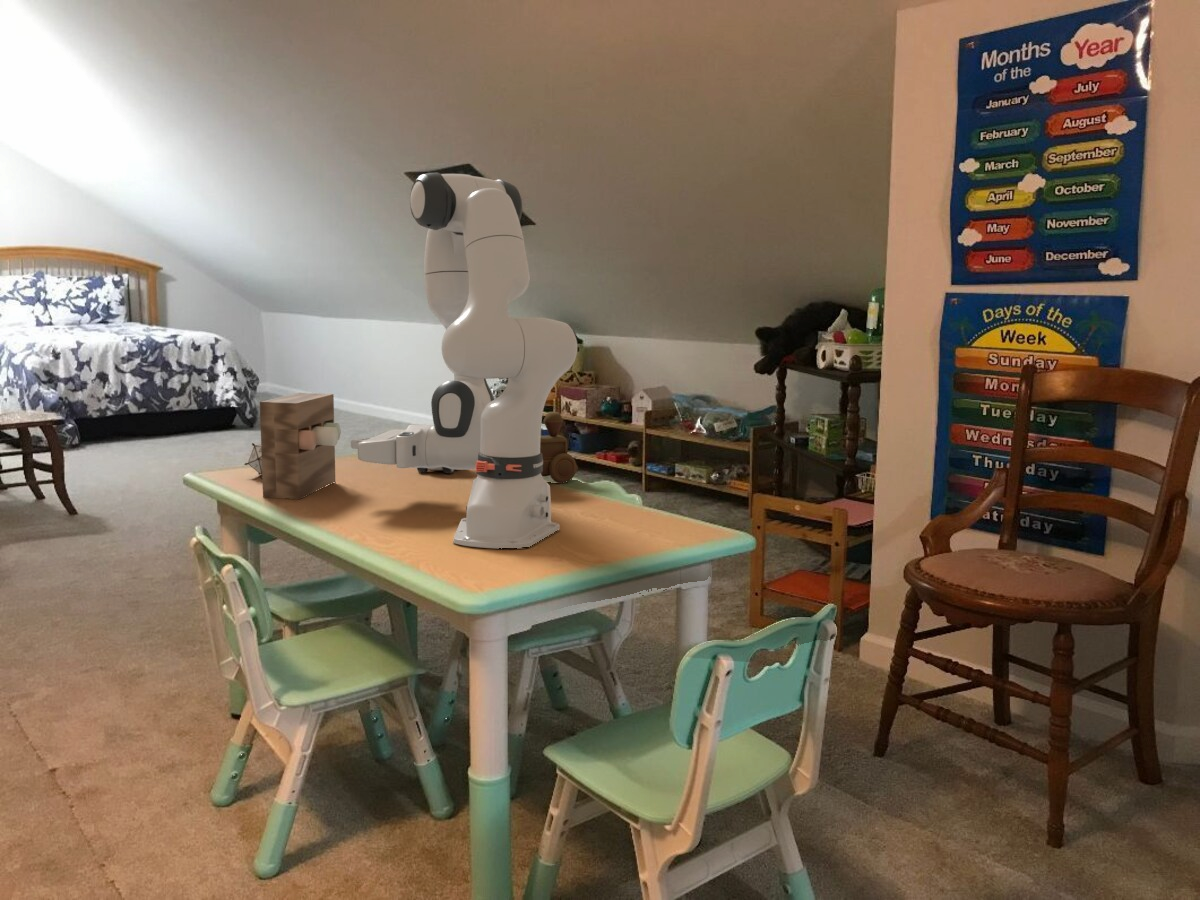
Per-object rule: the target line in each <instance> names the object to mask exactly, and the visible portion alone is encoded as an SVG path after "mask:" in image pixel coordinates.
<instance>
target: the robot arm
mask: <svg viewBox="0 0 1200 900" xmlns="http://www.w3.org/2000/svg"><path fill="white" fill-rule="evenodd" d="M409 205H410V211H411V215H412V218H413V219H414V220H415V221H416V223H417V224H418V225H420V226H421V227H423V228H426V229H428V230H427V233H426V238H425V247H424V256H423V258H424V259H423V262H424V263H423V271H424V273H423V276H424V277H423V278H424V289H425V295H426V299H427V300H426V301H427V304H428V308H429V309H430V311H431V313H433V314H434V316H435V317H436V318H437V320H439V322H440V323H441V324H442V325H443V327H444V329H445V332H444V334H443V337H442V340H441V355H442V358H443V360H444V363H445V364H446V366H447V368H448V370H450V372H451V373H452V374H453V376H454V377H453V380H448V381H445V382H443V383H441V384H439V385H438V387H436V389H435V391H434V392H433V394H432V396H431V404H430V405H431V413H432V414H431V415H432V421H433V424H417V423H416V424H415V423H413V424H409V425H407V427H406V429H400V428H398V429H396V428H395V429H390V430H388V431H385V432H383V433H380V434H377V435H375V436H372V437H357V438H354V439H351V441H350V448H351V449H353V450H356V449H357V459H358V461H361V462H366V463H370V464H371V463H372V464H379V465H380V464H381V465H389V466H393V465H396V468H397V469H408V468H416V469H417V468H437V467H446V468H449V469H454V470H461V471H462V470H467V471H469V470H475V472H476V474H477V476H476V478H474V480H472V486H471V490H470V495H469V498H468V502H467V505H466V507H465V508H466V509H465V511H466V517H463V518H461V519H460V522H459V524H458V526H457V528H456V530H455V533H454V536H453V539H452V540H453V541H452V543H453V544H455V545H460V546H464V547H472V548H485V549H499V548H501V550H503V549H502V548H517V549H522V548H521V547H529V546H531V545H533V544H535V543H536V542H538V543H540V542H541V541H543V540H545V539H546V538H545V537H547V536H548V535H550V534H552V533H553V532H555V531H557V530H558V529H560V524H559V523H558V522H555V521H552V503H551V502H552V501H551V485H550V484H549V483H548V482H547V481H546V479H544V476H542V475H541V472H542V471H543V459H542V453H541V452H540V439H541V436H542V420H543V414H544V408H545V405H546V401H547V398H548V397H549V395H550V393H551V391H552V389H553V388H554V386H555V384H556V383H557V382H558V380H559V379H560V378H561V377H562V376H564V374H565V373H567V372H568V371H569V370H570V369H571V368H572V366H573V364H574V363H575V361H576V358H577V355H578V340H577V337H576V335H575V332H574V331H573V328H572V327H570V325H569V324H568V323H567V322H564V321H559V320H556V319H552V318H547V317H513V316H510V313H509V304H510V303H512V302H513V301H515V300H517V299H518V298H519V297H521V296H522V295H523V294H524V293H525V292H526V291H527V289H528V287H529V285H530V282H531V281H530V278H531V276H530V269H529V268H530V267H529V262H528V258H527V251H526V245H525V240H524V233H523V230H522V225H521V222H520V221H521V218H522V214H523V201H522V197H521V194H520V192H519V190H518V188H517V187H516V186H515V185H514V184H512V183H510V182H507V181H505V180H502V179H495V180H494V179H491V178H487V177H481V176H475V175H471V174H465V173H439V172H437V171H436V172H427V173H422V174H420V175H418V176H417V178H416V179H415V180H414V182H413V184H412V187H411V191H410V197H409ZM487 379H489V380H491V379H493V380H494V379H508V380H507V383H506V385H505V389H504V390H503V391H502V393H501V394H500V395H499V396H498V397H496V398H494V395H493V392H492V390H491V388H490V386H489V384H488V381H487ZM558 531H559V530H558ZM558 531H557V532H558ZM555 533H556V532H555ZM553 534H554V533H553ZM553 534H552V535H553ZM550 536H551V535H550ZM548 537H549V536H548ZM548 537H547V538H548ZM544 538H545V539H544ZM542 539H543V540H542ZM540 540H541V541H540ZM539 541H540V542H539ZM536 544H537V543H536ZM536 544H535V545H536ZM533 546H534V545H533ZM531 547H532V546H531ZM529 548H530V547H529Z"/></svg>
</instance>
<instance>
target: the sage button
mask: <svg viewBox="0 0 1200 900" xmlns="http://www.w3.org/2000/svg"><path fill="white" fill-rule="evenodd" d="M323 424H324V427H336V428H337V430H338V441H339V440H340V438H341V431H342V430H341V425H340V424H339V423H338V422H334V423H325V422H323Z"/></svg>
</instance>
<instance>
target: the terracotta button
mask: <svg viewBox="0 0 1200 900" xmlns="http://www.w3.org/2000/svg"><path fill="white" fill-rule="evenodd" d="M298 434H299V449H303V450H314V449H315V447H316V444H317V435H316V433H315V431H308V430H298Z"/></svg>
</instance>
